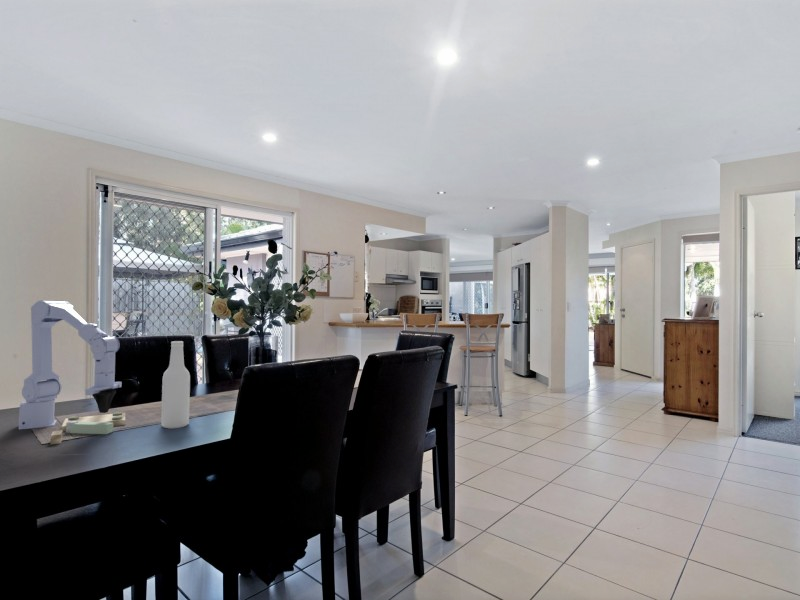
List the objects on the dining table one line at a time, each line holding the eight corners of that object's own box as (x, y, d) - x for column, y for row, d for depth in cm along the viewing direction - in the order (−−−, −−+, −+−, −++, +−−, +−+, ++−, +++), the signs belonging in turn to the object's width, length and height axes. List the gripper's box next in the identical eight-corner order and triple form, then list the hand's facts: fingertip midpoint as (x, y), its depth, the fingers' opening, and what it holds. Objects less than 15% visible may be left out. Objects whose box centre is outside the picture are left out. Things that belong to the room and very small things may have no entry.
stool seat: (50, 445, 131) (50, 435, 131) (61, 424, 153) (61, 416, 154) (125, 436, 141) (125, 426, 141) (125, 417, 164) (125, 409, 164)
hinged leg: (63, 433, 142) (63, 423, 142) (71, 430, 146) (71, 420, 146) (106, 434, 142) (106, 424, 142) (113, 431, 145) (113, 421, 145)
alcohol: (156, 429, 150) (158, 342, 150) (168, 422, 158) (170, 340, 159) (182, 429, 150) (184, 342, 151) (193, 422, 159) (195, 340, 159)
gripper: (100, 375, 140) (99, 417, 140) (130, 369, 155) (129, 407, 154) (79, 375, 140) (78, 417, 140) (111, 369, 155) (110, 407, 155)
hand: (103, 412), depth 147 cm, fingers closed
